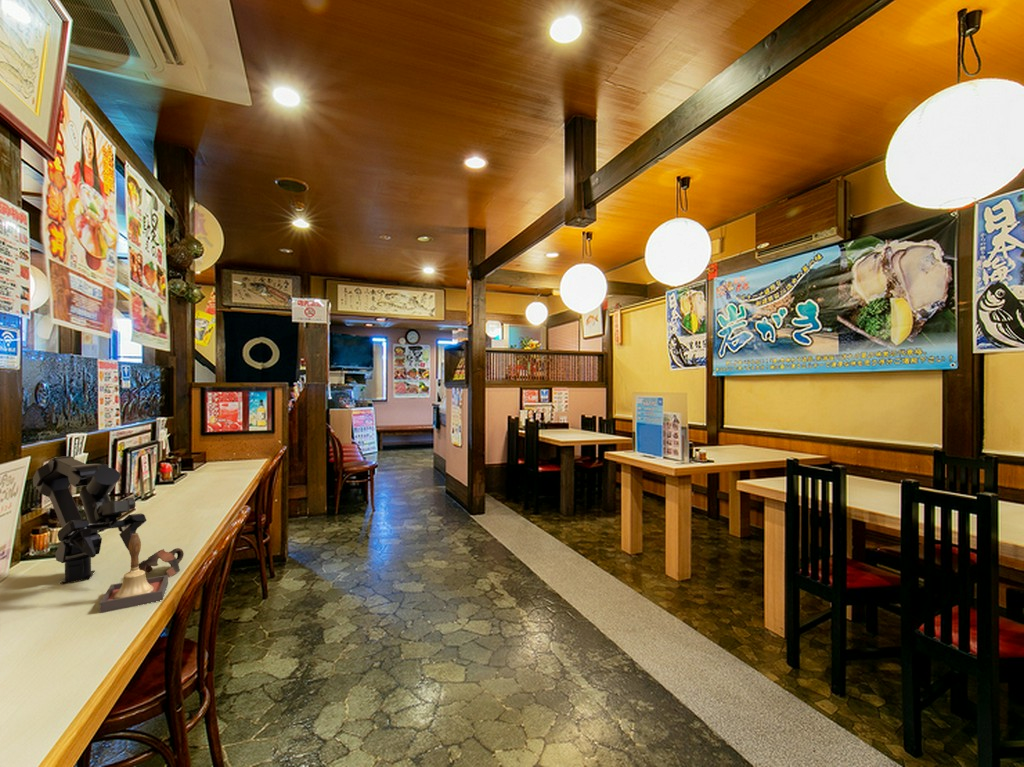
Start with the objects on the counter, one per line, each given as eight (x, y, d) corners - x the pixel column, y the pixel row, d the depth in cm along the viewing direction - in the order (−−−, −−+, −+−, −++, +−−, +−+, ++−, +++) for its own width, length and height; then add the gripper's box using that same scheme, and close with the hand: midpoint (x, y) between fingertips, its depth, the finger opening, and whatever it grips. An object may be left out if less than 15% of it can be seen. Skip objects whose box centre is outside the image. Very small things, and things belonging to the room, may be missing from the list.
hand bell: (160, 585, 130) (160, 528, 130) (142, 599, 122) (141, 537, 122) (126, 587, 128) (126, 529, 128) (106, 601, 120) (105, 539, 120)
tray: (111, 593, 128) (110, 584, 128) (168, 583, 134) (168, 574, 134) (99, 613, 117) (99, 603, 117) (162, 600, 123) (162, 591, 123)
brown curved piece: (163, 583, 135) (146, 560, 134) (143, 593, 138) (126, 571, 137) (197, 558, 147) (182, 536, 146) (178, 568, 150) (162, 547, 148)
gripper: (76, 489, 122) (93, 542, 117) (150, 486, 139) (167, 532, 135) (49, 513, 124) (64, 567, 119) (125, 507, 141) (141, 553, 136)
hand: (113, 553), depth 127 cm, fingers open, 9 cm apart
